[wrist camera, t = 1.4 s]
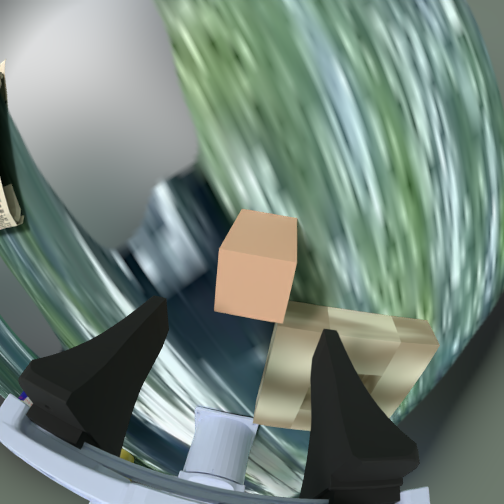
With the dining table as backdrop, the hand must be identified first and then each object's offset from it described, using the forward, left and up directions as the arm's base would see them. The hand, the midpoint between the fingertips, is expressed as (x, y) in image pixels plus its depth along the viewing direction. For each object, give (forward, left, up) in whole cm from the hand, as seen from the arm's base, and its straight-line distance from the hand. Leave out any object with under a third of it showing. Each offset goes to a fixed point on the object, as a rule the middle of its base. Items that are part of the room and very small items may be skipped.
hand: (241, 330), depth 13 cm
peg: (0, 0, -10) cm, 10 cm away
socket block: (-12, -9, -10) cm, 18 cm away
